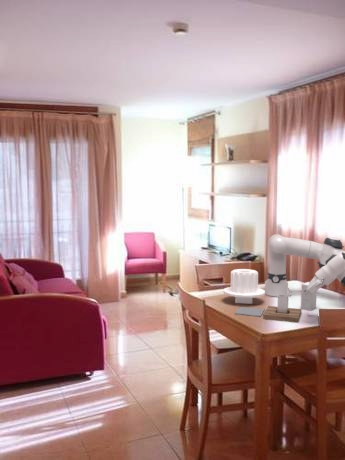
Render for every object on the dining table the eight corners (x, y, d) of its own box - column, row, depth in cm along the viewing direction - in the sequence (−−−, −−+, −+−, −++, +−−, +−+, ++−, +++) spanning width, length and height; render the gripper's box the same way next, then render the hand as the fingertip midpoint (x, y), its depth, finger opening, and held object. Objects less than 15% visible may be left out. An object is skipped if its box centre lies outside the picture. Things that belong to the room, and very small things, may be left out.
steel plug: (278, 314, 239) (279, 294, 238) (287, 315, 238) (288, 295, 237) (277, 316, 235) (277, 296, 234) (286, 317, 233) (287, 297, 232)
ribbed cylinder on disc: (264, 308, 252) (265, 275, 251) (221, 305, 257) (222, 274, 256) (264, 297, 277) (265, 268, 275) (225, 295, 282) (225, 266, 280)
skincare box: (306, 306, 257) (307, 281, 255) (316, 308, 252) (317, 282, 251) (300, 309, 250) (301, 283, 249) (310, 311, 246) (311, 285, 245)
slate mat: (240, 307, 253) (240, 306, 253) (264, 310, 248) (264, 309, 248) (234, 314, 240) (234, 313, 240) (260, 316, 235) (260, 315, 235)
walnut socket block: (268, 310, 248) (268, 305, 248) (301, 313, 241) (301, 309, 241) (263, 318, 231) (263, 314, 231) (298, 322, 225) (298, 317, 224)
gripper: (327, 286, 216) (306, 303, 221) (328, 278, 235) (309, 294, 240) (318, 276, 217) (297, 294, 222) (320, 269, 236) (300, 285, 241)
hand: (303, 294), depth 231 cm, fingers open, 8 cm apart
